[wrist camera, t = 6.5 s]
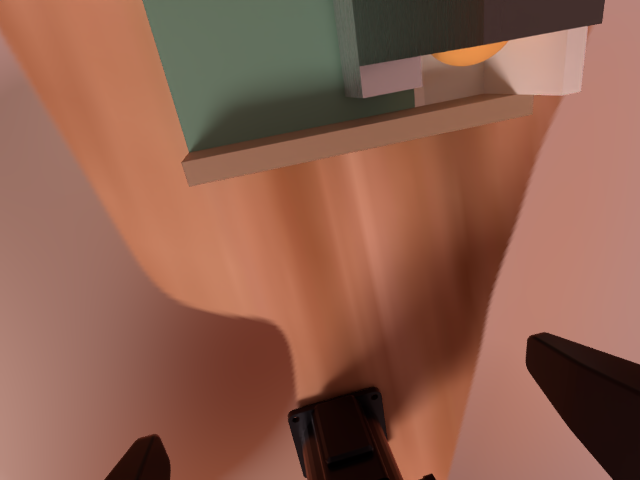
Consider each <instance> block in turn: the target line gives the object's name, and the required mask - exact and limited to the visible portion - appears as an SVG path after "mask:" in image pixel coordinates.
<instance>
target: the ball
mask: <svg viewBox="0 0 640 480" xmlns="http://www.w3.org/2000/svg"><path fill="white" fill-rule="evenodd" d="M507 42H508V41H503V42H498V43H492V44H487V45H481V46H476V47H470V48H464V49H458V50H452V51H447V52H441V53H435V54H431V55H432V56H433V57H435V58H436V59H437V60H439V61H441V62H443V63H445V64H448V65H452V66H470V65H474V64H478V63H480V62H483V61H485V60H487V59H489V58H490V57H492V56H493V55H495V54H496V53H497V52H498V51H500V50H501V49H502V48H503V47H504V46H505V45H506V44H507Z"/></svg>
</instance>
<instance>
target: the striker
mask: <svg viewBox="0 0 640 480" xmlns="http://www.w3.org/2000/svg"><path fill="white" fill-rule="evenodd" d="M604 3H605V0H333V5H334V13H335V20H336V28H337V36H338V43H339V51H340V59H341V66H342V74H343V82H344V89H345V97H354V98H367V97H373V96H378V95H383V94H388V93H393V92H398V91H403V90H409V89H414V88H419V87H423V85H422V65H421V56H423V55H429V54H435V53H441V52H447V51H452V50H458V49H464V48H470V47H476V46H481V45H487V44H492V43H498V42H503V41H509V40H514V39H519V38H525V37H530V36H536V35H541V34H547V33H552V32H557V31H563V30H568V29H574V28H579V27H585V26H590V25H595V24H601V23H602V18H603V11H604Z"/></svg>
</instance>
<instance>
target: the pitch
mask: <svg viewBox="0 0 640 480" xmlns="http://www.w3.org/2000/svg"><path fill="white" fill-rule="evenodd" d="M142 1H143V4H144V7H145V10H146V14H147V17H148V20H149V23H150V27H151V30H152V33H153V36H154V40H155V43H156V46H157V49H158V53H159V56H160V59H161V62H162V66H163V69H164V72H165V75H166V79H167V82H168V85H169V88H170V92H171V95H172V98H173V101H174V105H175V108H176V111H177V114H178V118H179V121H180V124H181V127H182V131H183V134H184V137H185V140H186V144H187V147H188V150H189V153H188V155H187V156H186V157H185V159H184V160H183V161H182V162H181V163H182V166H183V169H184V172H185V175H186V179H187V182H188V185H189V187H191V186H196V185H200V184H205V183H210V182H215V181H219V180H224V179H229V178H234V177H238V176H243V175H248V174H253V173H257V172H262V171H267V170H272V169H276V168H281V167H286V166H291V165H295V164H300V163H305V162H310V161H314V160H319V159H324V158H329V157H333V156H338V155H343V154H348V153H352V152H357V151H362V150H367V149H371V148H376V147H381V146H386V145H390V144H395V143H400V142H405V141H409V140H414V139H419V138H424V137H428V136H433V135H438V134H442V133H447V132H452V131H457V130H461V129H466V128H471V127H476V126H480V125H485V124H490V123H495V122H499V121H504V120H509V119H514V118H518V117H523V116H528V115H533V99H534V95H560V96H562V95H567V94H572V93H577V92H581V86H582V77H583V67H584V58H585V49H586V40H587V31H588V26H585V27H579V28H574V29H568V30H563V31H557V32H552V33H547V34H541V35H536V36H530V37H525V38H519V39H514V40H509V41H508V42H507V44H506V45H505V46H504V47H503V48H502V49H501V50H500V51H498V52H497V53H496V54H495V55H493V56H492V57H490V58H489V59H487V60H485V61H483V62H480V63H478V64H474V65H470V66H452V65H448V64H445V63H443V62H441V61H439V60H437V59H436V58H435V57H433V56H432V55H431V54H429V55H423V56H421V65H422V85H423V87H419V88H414V89H409V90H403V91H398V92H393V93H388V94H383V95H378V96H373V97H367V98H354V97H345V89H344V82H343V74H342V66H341V59H340V51H339V43H338V36H337V28H336V20H335V13H334V5H333V0H142Z"/></svg>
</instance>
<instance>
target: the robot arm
mask: <svg viewBox="0 0 640 480" xmlns="http://www.w3.org/2000/svg"><path fill="white" fill-rule="evenodd" d="M526 366H527V369H528V371H529V372H530V374H531V375H532V377H533V378H534V380H535V381H536V382H537V384H538V385H539V386H540V388H541V389H542V391H543V392H544V394H545V395H546V396H547V398H548V399H549V401H550V402H551V403H552V405H553V406H554V408H555V409H556V410H557V412H558V413H559V415H560V416H561V418H562V419H563V420H564V421H565V423H566V424H567V426H568V427H569V428H570V429H571V431H572V432H573V433H574V434H575V436H576V437H577V438H578V439H579V440H580V441H581V443H582V444H583V445H584V446H585V447H586V448H587V450H588V451H589V452H590V453H591V454H592V455H593V457H594V458H595V459H596V460H597V461H598V462H599V464H600V465H601V466H602V467H603V468H604V470H605V471H606V472H607V473H608V474H609V475H610V477H611V478H612V479H613V480H640V364H637V363H634V362H631V361H628V360H625V359H622V358H619V357H616V356H613V355H611V354H608V353H605V352H602V351H599V350H596V349H593V348H590V347H587V346H584V345H581V344H578V343H576V342H572V341H570V340H567V339H564V338H561V337H558V336H555V335H552V334H549V333H545V332H543V333H539V334H535V335H531V336H529V338H528V339H527V349H526ZM374 394H375V395H374ZM372 395H373V396H372ZM294 417H296V418H294ZM288 422H289V425H290V429H291V433H292V436H293V440H294V443H295V447H296V450H297V454H298V457H299V461H300V464H301V468H302V471H303V475H304V477H305V478H307V480H403V478H402V475H401V473H400V471H399V468H398V466H397V463H396V461H395V459H394V456H393V454H392V451H391V449H390V447H389V444H388V441H387V433H386V426H385V418H384V411H383V404H382V396H381V393H380V391H379V389H378V388H376V387H371V388H368V389H365V390H361V391H358V392H354V393H351V394H347V395H344V396H340V397H337V398H333V399H330V400H326V401H323V402H319V403H316V404H312V405H309V406H305V407H302V408H298V409H295V410H292V411H290V412H289V414H288ZM170 471H171V470H170V460H169V457H168V455H167V453H166V450H165V448H164V445H163V443H162V441H161V439H160V437H159V436H158V435H157V434H152V435H149V436H145V437H141V438H139V439H137V440H136V441H135V442H134V443H133V445H132V446H131V447H130V448H129V450H128V451H127V452H126V454H125V455H124V456H123V457H122V458H121V460H120V461H119V462H118V463H117V465H116V466H115V467H114V468H113V470H112V471H111V472H110V473H109V475H108V476H107V477H106V478H105V480H170ZM420 480H436V479H435V477H434V476H433V474H429V475H426V476H423V479H420Z"/></svg>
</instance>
